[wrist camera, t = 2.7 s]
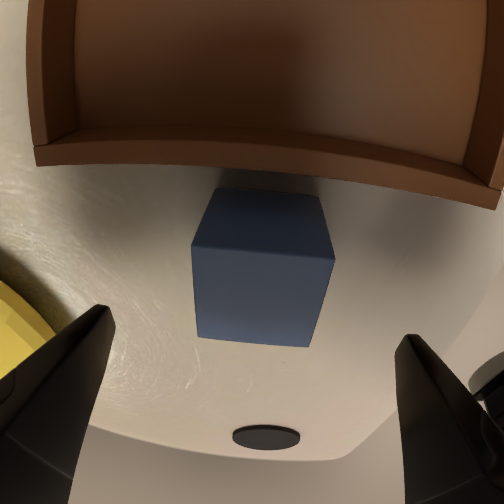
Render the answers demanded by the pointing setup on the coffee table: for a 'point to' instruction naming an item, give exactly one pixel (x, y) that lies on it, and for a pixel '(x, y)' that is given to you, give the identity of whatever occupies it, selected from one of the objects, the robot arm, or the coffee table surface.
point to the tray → (276, 88)
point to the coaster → (266, 437)
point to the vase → (19, 329)
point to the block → (260, 267)
